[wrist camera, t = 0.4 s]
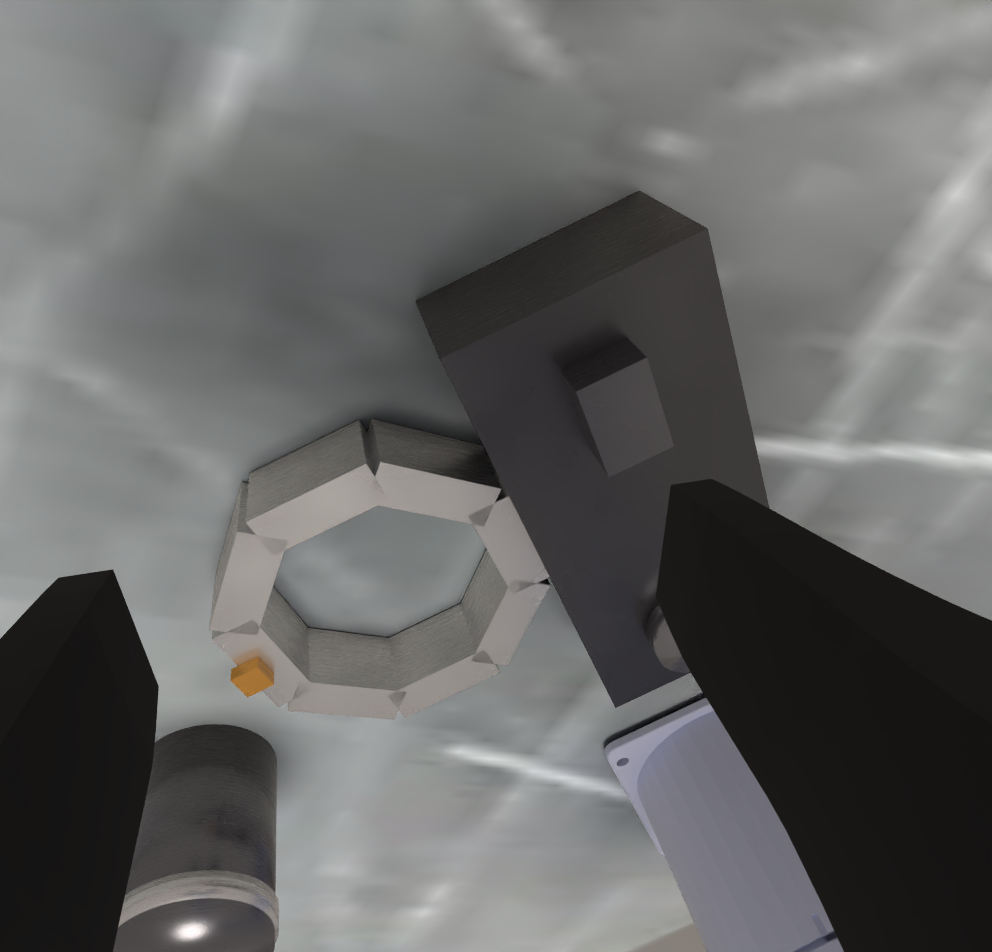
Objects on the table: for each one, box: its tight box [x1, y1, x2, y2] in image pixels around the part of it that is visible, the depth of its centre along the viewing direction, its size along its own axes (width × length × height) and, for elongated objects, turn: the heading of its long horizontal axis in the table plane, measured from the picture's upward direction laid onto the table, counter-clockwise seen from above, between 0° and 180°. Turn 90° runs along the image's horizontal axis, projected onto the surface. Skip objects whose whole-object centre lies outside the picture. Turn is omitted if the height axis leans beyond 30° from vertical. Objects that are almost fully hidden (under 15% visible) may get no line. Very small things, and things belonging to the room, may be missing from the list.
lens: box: [113, 725, 279, 952], centre depth 22 cm, size 5×5×6 cm
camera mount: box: [209, 191, 769, 719], centre depth 20 cm, size 13×15×4 cm
